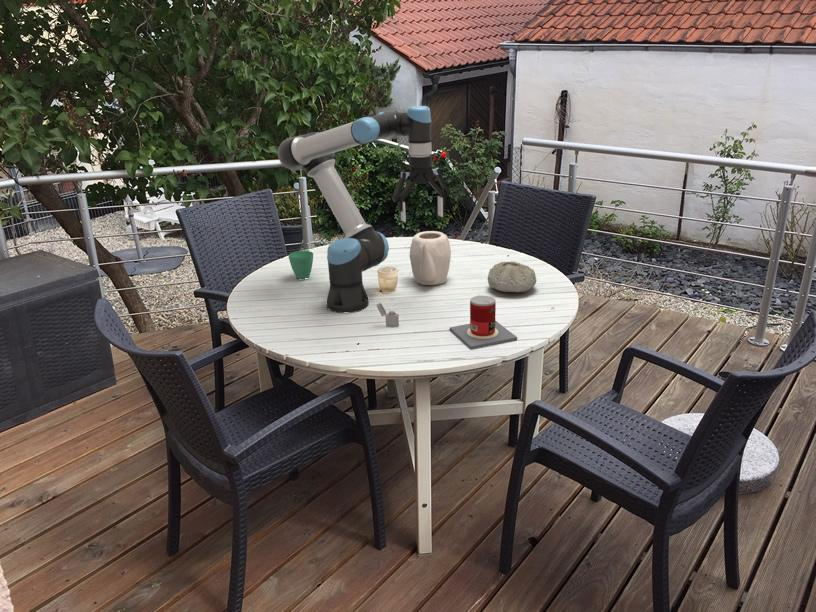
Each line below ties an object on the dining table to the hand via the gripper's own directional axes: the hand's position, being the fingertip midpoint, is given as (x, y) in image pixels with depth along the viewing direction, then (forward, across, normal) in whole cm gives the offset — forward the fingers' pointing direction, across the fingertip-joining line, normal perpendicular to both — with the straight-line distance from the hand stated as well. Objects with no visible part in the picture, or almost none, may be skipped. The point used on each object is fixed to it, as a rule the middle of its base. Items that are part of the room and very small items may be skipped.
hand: (422, 218), depth 232 cm
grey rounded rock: (+32, -35, 0) cm, 47 cm away
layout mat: (+32, -7, +32) cm, 46 cm away
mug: (+32, +32, -51) cm, 68 cm away
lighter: (+32, +18, +12) cm, 39 cm away
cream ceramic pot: (+32, -11, -21) cm, 40 cm away
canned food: (+31, -7, +32) cm, 45 cm away
